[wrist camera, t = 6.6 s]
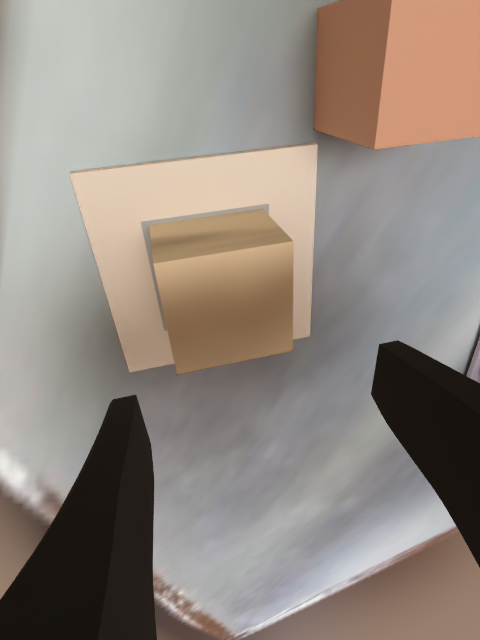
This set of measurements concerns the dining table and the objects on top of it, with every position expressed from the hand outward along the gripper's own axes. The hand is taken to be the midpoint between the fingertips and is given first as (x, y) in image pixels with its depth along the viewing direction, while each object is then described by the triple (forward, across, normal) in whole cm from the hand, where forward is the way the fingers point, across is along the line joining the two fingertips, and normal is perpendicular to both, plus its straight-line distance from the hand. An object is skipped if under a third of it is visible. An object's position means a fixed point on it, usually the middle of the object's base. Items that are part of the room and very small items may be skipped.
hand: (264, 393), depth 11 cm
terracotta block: (+9, -7, -8) cm, 14 cm away
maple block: (+8, 0, 0) cm, 8 cm away
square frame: (+9, 0, 0) cm, 9 cm away
